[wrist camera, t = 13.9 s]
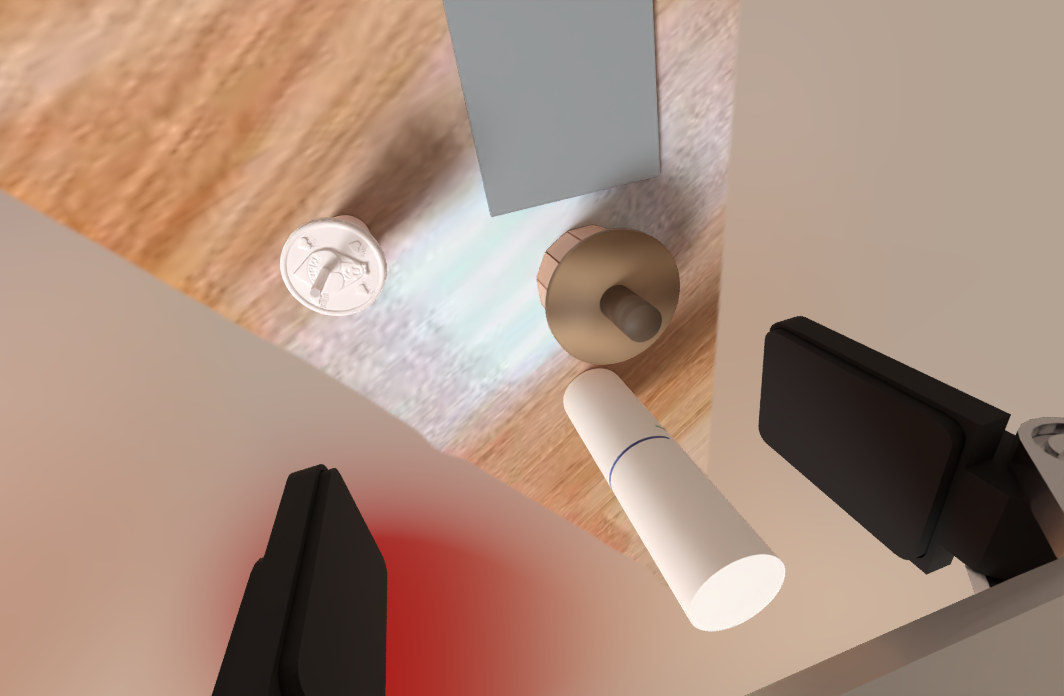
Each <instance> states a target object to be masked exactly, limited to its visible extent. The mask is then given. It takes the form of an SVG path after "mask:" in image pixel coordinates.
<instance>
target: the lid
mask: <svg viewBox="0 0 1064 696" xmlns="http://www.w3.org/2000/svg"><path fill="white" fill-rule="evenodd" d="M679 292H680V280H679V273H678V269H677V266H676V263H675V261H674V259H673V257H672V255H671V253H670V252H669V251H668V249H667V248H666V247H665V246H664V245H663V244H662V243H661V242H659V241H658V240H657V239H655V238H653V237H652V236H649V235H647V234H645V233H642V232H640V231H637V230H633V229H627V228H613V229H608V230H603V231H600V232H597V233H594V234H592V235H590V236H588V237H586V238H585V239H583V240H582V241H580V242H579V243H577V244H576V245H575V246H574V247H573V248H571V249H570V250H569V251H568V252H567V253H566V255H565V256H564V257H563V258H562V259H561V261H560V262H559V263H558V265H557V267H556V268H555V270H554V272H553V274H552V276H551V279H550V281H549V284H548V288H547V292H546V299H545V311H546V318H547V322H548V325H549V328H550V330H551V332H552V334H553V335H554V337H555V339H556V340H557V341H558V343H559V344H560V345H561V346H562V348H563V349H564V350H565V351H566V352H568V353H569V354H570V355H572V356H573V357H575V358H576V359H579V360H581V361H583V362H587V363H590V364H598V365H607V364H615V363H619V362H623V361H625V360H628V359H631V358H633V357H635V356H637V355H638V354H640V353H641V352H643V351H645V350H646V349H647V348H648V347H650V346H651V345H652V344H653V343H654V342H655V341H656V340H657V339H658V338H659V337H660V336H661V334H662V333H663V332H664V331H665V329H666V328H667V326H668V325H669V323H670V321H671V319H672V317H673V315H674V312H675V310H676V307H677V303H678V299H679Z"/></svg>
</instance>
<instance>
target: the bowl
mask: <svg viewBox="0 0 1064 696" xmlns="http://www.w3.org/2000/svg"><path fill="white" fill-rule="evenodd" d="M603 230H608V229H606V228H603V227H600V226H597V225H589V226H585V227H581V228H578V229H574V230H570V231H568V233H567V232H566V233H564V234H563V235H562V236H561V237H560V238H559V239H558V240H557V241H556V242H555V243H554V244H553V245H552V246H551V247H550V248H549V249H547V250H546V251H547V252H548V253H546V252H545V254H544V257H543V260H542V263H541V266H540V269H539V272H538V275H537V278H538V279H536V280H537V285H538V290H539V296H540V301H541V304H542V305H543V307H544V308H545V299H546V292H547V288H548V284H549V281H550V279H551V276H552V274H553V272H554V270H555V268H556V267H557V265H558V263H559V262H560V261H561V259H562V258H563V257H564V256H565V255H566V253H567V252H568V251H569V250H570V249H571V248H573V247H574V246H575V245H576V244H577V243H579V242H580V241H582V240H583V239H585V238H586V237H588V236H590V235H592V234H594V233H597V232H600V231H603Z"/></svg>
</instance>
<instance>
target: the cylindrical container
mask: <svg viewBox="0 0 1064 696" xmlns="http://www.w3.org/2000/svg"><path fill="white" fill-rule="evenodd" d="M564 408H565V411H566V413H567V414H568V416H569V418H570V420H571V421H572V423H573V425H574V426H575V428H576V430H577V431H578V433H579V435H580V436H581V438H582V440H583V442H584V443H585V445H586V447H587V448H588V450H589V452H590V453H591V455H592V457H593V458H594V460H595V462H596V463H597V465H598V467H599V468H600V470H601V472H602V473H603V475H604V477H605V479H606V480H607V482H608V484H609V485H610V487H611V489H612V490H613V492H614V494H615V495H616V497H617V499H618V500H619V502H620V504H621V505H622V507H623V509H624V511H625V512H626V514H627V516H628V517H629V519H630V521H631V522H632V524H633V526H634V527H635V529H636V531H637V532H638V534H639V536H640V538H641V539H642V541H643V543H644V544H645V546H646V548H647V549H648V551H649V553H650V554H651V556H652V558H653V559H654V561H655V563H656V564H657V566H658V568H659V570H660V571H661V573H662V575H663V576H664V578H665V580H666V581H667V583H668V585H669V586H670V588H671V590H672V591H673V593H674V595H675V596H676V598H677V600H678V601H679V603H680V605H681V606H682V608H683V609H684V612H685V613H686V615H687V617H688V618H689V620H690V621H691V623H692V625H694V626H695V627H696V628H698V629H700V630H703V631H718V630H724V629H728V628H731V627H734V626H736V625H738V624H740V623H743V622H744V621H746V620H748V619H749V618H751V617H753V616H754V615H755V614H757V613H758V612H760V611H761V610H762V609H763V608H764V607H765V606H767V605H768V603H770V601H771V600H772V599H773V598H774V597H775V595H776V594H777V593H778V591H779V590H780V588H781V586H782V584H783V581H784V578H785V567H784V564H783V563H782V562H781V560H780V559H779V558H778V556H776V554H775V553H774V552H773V551H772V550H771V549H770V547H769V546H768V545H767V544H766V543H765V542H764V541H763V539H762V538H761V537H760V536H759V535H758V534H757V533H756V532H755V530H754V529H753V528H752V527H751V526H750V525H749V524H748V523H747V521H746V520H745V519H744V518H743V517H742V516H741V515H740V514H739V512H738V511H737V510H736V509H735V508H734V507H733V506H732V504H731V503H730V502H729V501H728V500H727V499H726V498H725V496H723V494H722V493H721V492H720V491H719V490H718V489H717V487H716V486H715V485H714V484H713V483H712V482H711V481H710V479H709V478H708V477H707V476H706V475H705V474H704V473H703V472H702V470H701V469H700V468H699V467H698V466H697V465H696V464H695V462H694V461H693V460H692V459H691V458H690V457H689V456H688V455H687V453H686V452H685V451H684V450H683V449H682V448H681V447H680V445H679V444H678V443H677V442H676V441H675V440H674V439H673V438H672V436H671V435H670V434H669V433H668V432H667V431H666V430H665V429H664V427H663V426H662V425H661V424H660V423H659V422H658V421H657V419H656V418H655V417H654V416H653V415H652V414H651V413H650V412H649V410H648V409H647V408H646V407H645V406H644V405H643V404H642V403H641V401H640V400H639V399H638V398H637V397H636V396H635V395H634V393H633V392H632V391H631V390H630V389H629V388H628V387H627V386H626V384H625V383H624V382H623V381H622V380H621V379H620V378H619V376H618V375H617V374H615V373H614V372H613V371H610V370H608V369H603V368H596V369H591V370H588V371H585V372H583V373H582V374H580V375H578V376H577V377H576V378H575V379H574V380H573V381H572V382H571V383H570V384H569V386H568V388H567V389H566V392H565V394H564Z"/></svg>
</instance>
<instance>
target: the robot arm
mask: <svg viewBox="0 0 1064 696" xmlns="http://www.w3.org/2000/svg"><path fill="white" fill-rule="evenodd" d="M1010 416H1011V414H1009V413H1006V412H1004V411H1002V410H1000V409H998V408H996V407H994V406H992V405H989V404H987V403H985V402H983V401H981V400H979V399H977V398H975V397H972V396H970V395H968V394H966V393H964V392H962V391H960V390H958V389H956V388H954V387H951V386H949V385H947V384H945V383H943V382H941V381H939V380H937V379H934V378H933V377H930V376H928V375H926V374H924V373H922V372H920V371H918V370H916V369H914V368H911V367H909V366H907V365H905V364H903V363H901V362H899V361H896V360H895V359H892V358H890V357H888V356H886V355H884V354H882V353H880V352H877V351H876V350H873V349H871V348H869V347H867V346H865V345H863V344H861V343H859V342H856V341H854V340H852V339H850V338H848V337H846V336H844V335H842V334H840V333H838V332H835V331H833V330H831V329H829V328H827V327H825V326H823V325H820V324H819V323H816V322H814V321H812V320H810V319H808V318H806V317H803V316H797V317H793V318H790V319H787V320H784V321H780V322H777V323H775V324H773V325H772V326H771V328H770V332H768V333H767V335H766V337H765V346H764V359H763V373H762V387H761V400H760V413H759V432H760V435H761V437H762V438H763V440H764V441H765V442H766V443H767V444H768V445H769V446H770V447H771V448H772V449H774V450H775V451H776V452H777V453H778V454H780V455H781V456H782V457H783V458H784V459H785V460H787V461H788V462H789V463H790V464H791V465H792V466H793V467H795V468H796V469H797V470H798V471H799V472H801V473H802V474H803V475H804V476H805V477H806V478H807V479H808V480H810V481H811V482H812V483H813V484H814V485H815V486H817V487H818V488H819V489H820V490H821V491H823V492H824V493H825V494H826V495H827V496H828V497H829V498H831V499H832V500H833V501H834V502H835V503H836V504H838V505H839V506H840V507H841V508H842V509H843V510H845V511H846V512H847V513H848V514H849V515H850V516H851V517H853V518H854V519H855V520H856V521H857V522H858V523H860V524H861V525H862V526H863V527H864V528H865V529H867V530H868V531H869V532H870V533H871V534H872V535H873V536H875V537H876V538H877V539H878V540H879V541H880V542H882V543H883V544H884V545H885V546H886V547H887V548H889V549H890V550H891V551H892V552H893V553H894V554H896V555H897V556H899V557H900V558H902V559H905V560H910V561H911V562H912V563H913V564H915V565H916V566H917V567H918V568H919V569H920V570H922V571H923V572H924V573H925V574H929V573H931V572H933V571H936V570H938V569H940V568H943V567H945V566H947V565H950V564H951V562H952V559H953V557H954V556H955V557H957V558H958V559H959V560H960V561H962V562H963V563H964V564H965V567H966V570H967V572H968V575H969V578H970V581H971V584H972V586H973V590H974V592H975V595H972V596H970V597H968V598H966V599H963V600H961V601H959V602H956V603H954V604H952V605H950V606H947V607H945V608H943V609H940V610H938V611H936V612H933V613H931V614H929V615H927V616H924V617H922V618H920V619H917V620H915V621H913V622H911V623H908V624H906V625H904V626H902V627H899V628H897V629H894V630H892V631H890V632H888V633H885V634H883V635H881V636H879V637H876V638H874V639H872V640H870V641H867V642H865V643H863V644H860V645H858V646H856V647H854V648H851V649H850V650H847V651H845V652H842V653H840V654H838V655H836V656H834V657H831V658H829V659H827V660H824V661H822V662H820V663H818V664H816V665H813V666H811V667H808V668H806V669H804V670H802V671H799V672H797V673H795V674H793V675H790V676H788V677H786V678H784V679H781V680H779V681H777V682H775V683H772V684H770V685H768V686H766V687H763V688H761V689H759V690H757V691H754V692H752V693H750V694H748V695H745V696H1064V418H1060V417H1059V418H1058V417H1042V418H1036V419H1030V420H1029V421H1026V422H1024V423H1022V424H1021V426H1020V427H1019V429H1018V431H1017V434H1016V435H1014V434H1011V433H1009V432H1008V431H1005V428H1006V425H1007V423H1008V421H1009V418H1010ZM386 620H387V569H386V565H385V561H384V558H383V556H382V554H381V552H380V550H379V548H378V546H377V544H376V543H375V540H374V539H373V537H372V535H371V533H370V531H369V529H368V527H367V525H366V523H365V522H364V519H363V517H362V516H361V514H360V511H359V510H358V508H357V506H356V504H355V502H354V500H353V498H352V496H351V494H350V492H349V490H348V488H347V486H346V484H345V482H344V481H343V478H342V477H341V475H340V473H339V471H338V470H337V469H336V468H332V469H329V470H328V469H327V467H326V466H325V465H323V464H319V465H317V466H313V467H310V468H307V469H304V470H300V471H297V472H294V473H291V474H290V475H289V477H288V479H287V482H286V485H285V489H284V492H283V495H282V499H281V502H280V505H279V509H278V512H277V515H276V519H275V522H274V525H273V529H272V532H271V535H270V539H269V542H268V545H267V549H266V552H265V555H264V557H263V558H260V559H259V560H258V561H257V562H256V563H255V565H254V567H253V569H252V572H251V574H250V577H249V580H248V583H247V586H246V590H245V593H244V596H243V599H242V602H241V605H240V608H239V612H238V615H237V618H236V621H235V624H234V628H233V631H232V633H231V637H230V640H229V643H228V646H227V649H226V653H225V655H224V659H223V662H222V665H221V668H220V672H219V674H218V678H217V681H216V684H215V687H214V690H213V693H212V696H385V685H386V623H387V622H386Z"/></svg>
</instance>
